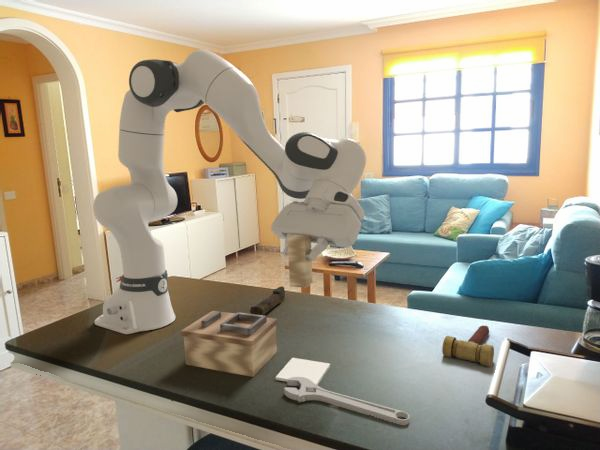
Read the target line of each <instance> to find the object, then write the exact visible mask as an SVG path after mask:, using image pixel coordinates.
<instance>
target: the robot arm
mask: <svg viewBox="0 0 600 450" xmlns="http://www.w3.org/2000/svg"><path fill="white" fill-rule="evenodd" d="M128 86H129V90H127V92H125V94H124V98H123V101H122V105H121V110H120V118H119V126H118V127H119V129H118V130H119V131H118V151H117V152H118V153H117V156H118V160H119V162H120V163H121V165H123V166H124V167H125V168H127V170H128V172H129V175H130V184H124V185H122V184H121V185H116V186H113V187H112V186H111V187H110V188H107V189H105V190H103V191H100V192H99V193H98V194H97V195H96V196H95V198H94V200H93V204H92V211H93V214H94V217H95V219H96V220H97V222H98V223H99V225H101V227H104V228H105V229H107V230H108V231H110V233H111V234H112V236H113V237H114V239H115V240H116V243H117V244H118V245H117V246H118V248H119V251H120V257H121V263H122V264H121V265H122V271H123V272H122V273H123V274H122V275H120V276H119V277H116V278H115V280H116V281H115V282H116V283H118V282H119V288H118V289H117V290H115V291H114V292H113V293H112V294H111V295H110V296H108V298H106V299H105V300H104V302H103V305H102V314H101V315H99V316H98V317H96V318H95V320H94V325H96V326H98V327H101V328H104V329H108V330H111V331H114V332H117V333H120V334H123V335H130V334H134V333H139V332H147V331H150V330H157V329H161V328H163V327H166V326H168V325H169V324H172V323H174V321H175V320H176V318H177V317H176V314H175V312H174V309H173V306H172V302H171V296H170V294H169V289H168V288H169V277H168V276H169V275H168V271H167V270H166V263H165V262H166V261H165V250H164V249H165V248H164V244H163V242H161V240H159V239H157V238H156V237H154V236H153V235H152V232H151V230H150V226H149V223H151V222H156V221H160V220H162V219H164V218H167V217H168V216H170V215H171V214H173V212H175V210H176V208H177V206H178V195H177V192H176V191H175V189H174V188H173V187H172V186H171V185H170V183H169V181H168V180H167V176H166V172H165V171H166V170H165V167H164V166H165V165H164V147H165V146H164V144H165V129H166V127H165V126H166V125H165V124H166V118H167V115H168V114H169V113H170V112H172V111H173V112H176V113H181V112H185V111H190V110H194V109H197V108H199V107H201V106H203V104H205V105H206V106H208V107H209V108H210V109H211V110H212V111H213V112H214V113H216V114H217V116H218V117H220V119H222V121H224V122H225V123H226V124H227V126H229V127H230V128H231V129H232V131H233V132H234V133H235V134H236V135H237V137H238V138H239V139H240V140H241V142H242V143H243V144H244V145H245V146H246V147H247V148H248V149H249V150H250V151H251V152H252V153H253V154H254V155H255V156H256V157H257V158H258V159H259V160H260V162H261V163H263V164H264V165H265V166H266V168H268V170H269V171H271V173H272V174H273V175H274V177H275V179H276V180H277V183H278V185H279V186H280V189H281V190H282V191H283V193H284V194H286V195H287V196H289V197H291V198H292V199H293V198H294V199H297V200H302V199H303V200H304V201H297V200H294V201H292V202H290V203H289V204H286V205H285V206H284V207H283V208H282V209H281V210H280V212H279V213H278V215H277V216H276V217H275V218H274V220H273V222H272V223H271V225H270V226H271V227H270V228H271V232H272V233H273V234H274V235H275V236H276V237H277V238H279V239H282V240H283V239H284V240H285V248H284V249H283V251H282V253H283V255H284V256H285V257H287V258H289V257H288V238H289V237H291V236H293V235H308V236H311V244H312V243H313V244H315V245H314V247H312V248H311V249H308V251H307V253H306V255H305V257H306V258H307V260H310V261H312V262H316V260H317V258H318V256H319V255H320V254H322V253H323V252H325V251H326V250H327V248H328V246H332V247H333V246H334V247H342V248H350V247H352V246H353V245H354V244H355V243H356V240H357V239H358V236H359V234H360V231H361V228H362V222H361V221H363V219H364V218H365V215H366V214H365V212H364V209H363V208H362V206H361V204H360V203H359V202H358V200H357V199H356V198H355V196H354V195H352V194H353V191H355V189H356V188H357V187H358V185H359V183H360V181H361V178H362V176H363V174H364V171H365V168H366V164H367V155H366V152H365V150H364V148H363V147H362V146H361V145H360V144H359V142H357V141H356V140H354V139H351V138H348V137H345V138H343V137H342V138H339V139H338V138H337V139H330V138H325V137H321V136H320V135H317V134H316V133H312V132H307V131H301V132H298V133H297V132H296V133H295V134H294V135H291V136H290V137H289V138H288V139H287V140H286V143H285V146H283V145H282V144H281V143H280V141H278V140H277V139H276V138H275V136H273V135H272V134H271V132H270V131H269V129H268V126H267V125H266V122H265V120H264V116H263V112H262V106H261V100H260V96H259V92H258V90H257V87H256V86H255V85H254V84H253V82H252V81H251V80H250V79H249V77H248V76H246V74H244V73H243V72H242V71H241V70H239V69H238V68H237V67H236V66H234V65H233V64H232V63H231V62H229V61H228V60H226V59H225V58H223V57H222V56H220V55H218V54H217V53H214V52H213V51H211V50H208V49H205V48H200V49H197V50H194V51H192V52H191V53H189V54H188V56H187V57H186V58H185V59H184V61H183V63H181V64H180V63H178V62H173V61H171V60H165V59H156V58H155V59H153V58H151V59H144V60H140V61H139V62H137V63H136V64H134V65H133V67H132V68H131V70H130V72H129V76H128Z"/></svg>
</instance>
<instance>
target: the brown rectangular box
mask: <svg viewBox="0 0 600 450" xmlns="http://www.w3.org/2000/svg"><path fill="white" fill-rule="evenodd" d="M277 325H278V318H275V317H274V318H273V317H267V315H264V316H263V315H255V314H250V313H246V312H239V311H237V312H236V313H233V312H227V311H225V312H224V311H217V310H211V311H210V312H208V313H207V314H204V316H202V317H200V318H199V319H197V320H196V321H194V322H192V323H191V324H190V325H188V326H186V327H185V328H182V329H181V330H180V331H181V332H180V333H181V336H182V337H183V342H184V343H183V344H184V355H185V356H184V357H185V365H187V366H192V367H197V368H203V369H208V370H214V371H218V372H225V373H230V374H235V375H241V376H245V377H246V376H247V377H255V375H257V374H258V373H259V372H260V370H262V369H263V367H264V366H265V365H266V364H267V363H268V362H269V361H270V360H271V359H272V358H273V357H274V356H275V355H276V354H277V353H278V343H277Z"/></svg>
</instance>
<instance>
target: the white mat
mask: <svg viewBox="0 0 600 450" xmlns="http://www.w3.org/2000/svg"><path fill="white" fill-rule="evenodd" d="M330 368H331V363H329V362H322V361H316V360H309V359H304V358H303V359H302V358H297V357H291V358H290V360H289V361H288V362H287V363H286V364H285V366H284V367H283V368H282V369H281V370H280V371H279V373H278V374H276V376H275V380H276V381H280V382H281V381H282V382H286V383H287V380H288V379H289V378H292V377H304V378H307V379H310V380H311V381H312V382H313V383H315V384H316V385H318V386H319V385H320V383H321V381H322V379H323V378H324V377H325V375H326V374H327V372H328V371H329V369H330Z"/></svg>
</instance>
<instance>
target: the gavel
mask: <svg viewBox="0 0 600 450" xmlns="http://www.w3.org/2000/svg"><path fill="white" fill-rule="evenodd" d="M489 333H490V328H489V325H480V326H479V327H478V328H477V330H476V331H475V332H474V333H473V335H472V336H471V337H469V339H468V340H461V339H459V340H458V339H457V337H454V336H450V335H446V336H445V337H444V339H443V341H442V347H441V350H442V351H441V352H442V355H443V357H446V358H447V357H448V358H450V359H451V358H453V357H456V358H457V359H460V360H466V361H469V362H474V363H479V364H480V366H485V367H488V368H490V367H492V365H493V362H494V356H495V347H494V345H492V344H488V343H483V342H484V341H485V339H486V338H487V337H488V336H489Z"/></svg>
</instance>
